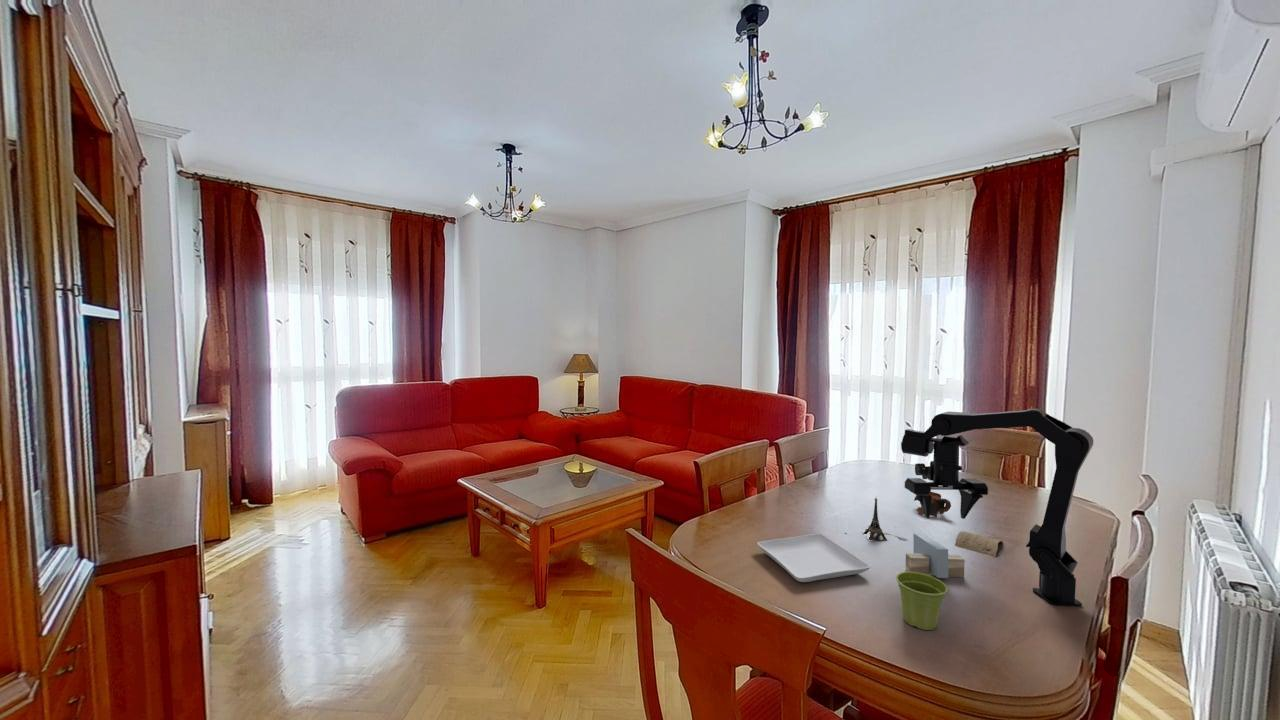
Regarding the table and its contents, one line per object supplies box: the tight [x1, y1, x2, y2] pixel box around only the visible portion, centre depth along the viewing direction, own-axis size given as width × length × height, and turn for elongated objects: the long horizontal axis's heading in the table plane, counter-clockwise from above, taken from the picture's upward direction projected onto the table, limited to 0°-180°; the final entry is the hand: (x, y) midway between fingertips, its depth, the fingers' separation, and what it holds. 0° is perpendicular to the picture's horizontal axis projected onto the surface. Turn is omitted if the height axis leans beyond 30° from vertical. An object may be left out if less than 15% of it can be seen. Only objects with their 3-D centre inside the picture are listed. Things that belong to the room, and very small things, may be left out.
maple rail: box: [904, 552, 966, 578], centre depth 124 cm, size 3×13×4 cm, turn 86°
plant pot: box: [895, 571, 949, 631], centre depth 103 cm, size 9×9×9 cm
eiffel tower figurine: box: [862, 497, 909, 542], centre depth 146 cm, size 15×10×13 cm
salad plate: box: [756, 533, 871, 583], centre depth 129 cm, size 21×21×3 cm
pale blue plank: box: [913, 532, 949, 579], centre depth 126 cm, size 12×3×7 cm, turn 176°
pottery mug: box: [913, 491, 952, 518], centre depth 166 cm, size 12×10×8 cm
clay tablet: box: [954, 530, 1004, 558], centre depth 141 cm, size 14×10×3 cm
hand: (944, 518), depth 129 cm, fingers open, 9 cm apart
